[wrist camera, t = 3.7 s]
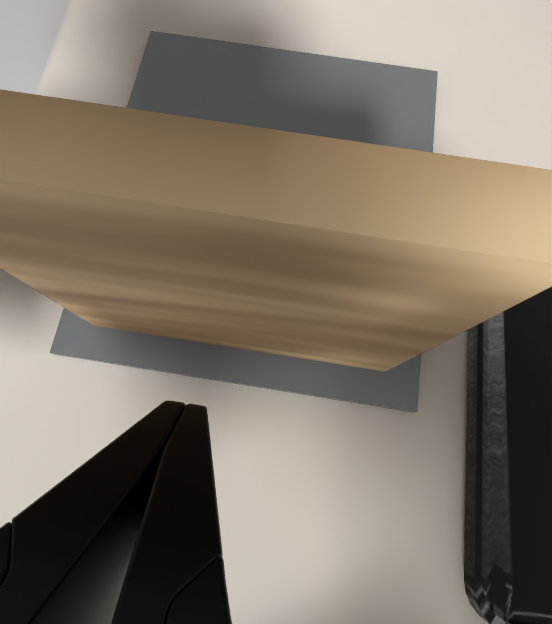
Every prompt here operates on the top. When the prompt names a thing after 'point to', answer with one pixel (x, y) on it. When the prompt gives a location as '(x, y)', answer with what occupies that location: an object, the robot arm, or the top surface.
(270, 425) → the top surface
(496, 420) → the phone
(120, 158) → the oak block
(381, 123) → the charcoal mat
